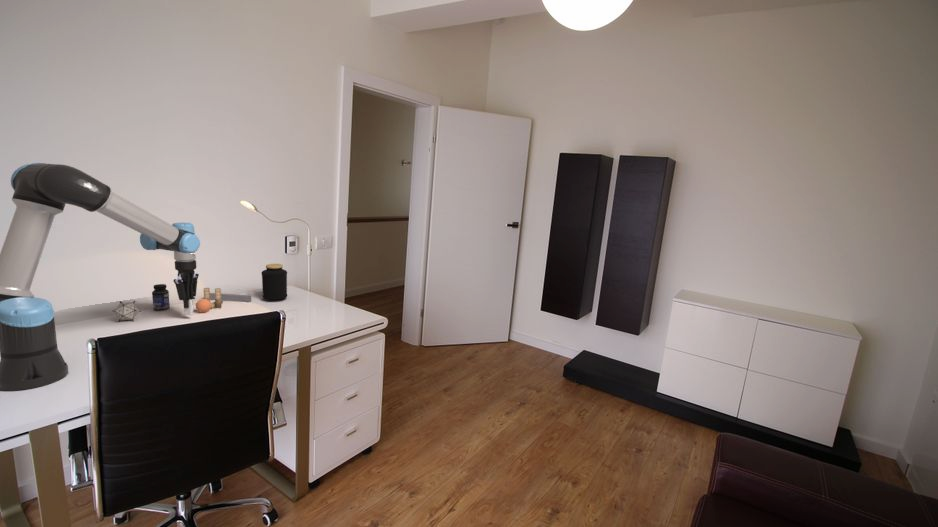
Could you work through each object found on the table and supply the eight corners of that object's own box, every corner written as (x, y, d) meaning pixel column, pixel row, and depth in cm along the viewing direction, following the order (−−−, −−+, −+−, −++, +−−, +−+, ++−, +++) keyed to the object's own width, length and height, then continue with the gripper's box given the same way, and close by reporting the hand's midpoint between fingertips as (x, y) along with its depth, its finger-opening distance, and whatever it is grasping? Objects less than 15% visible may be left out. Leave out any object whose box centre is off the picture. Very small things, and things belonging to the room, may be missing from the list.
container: (259, 297, 222) (258, 263, 219) (283, 295, 229) (284, 262, 226) (264, 304, 213) (264, 268, 209) (290, 301, 220) (290, 266, 216)
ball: (215, 304, 199) (210, 315, 195) (202, 304, 199) (196, 314, 195) (210, 296, 195) (204, 306, 191) (197, 295, 195) (190, 306, 191)
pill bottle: (167, 310, 195) (166, 286, 193) (151, 311, 192) (149, 287, 190) (171, 306, 200) (169, 283, 198) (155, 307, 198) (153, 283, 196)
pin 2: (219, 308, 201) (218, 289, 200) (214, 308, 201) (213, 289, 200) (222, 307, 204) (221, 288, 202) (217, 306, 204) (216, 288, 202)
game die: (129, 330, 179) (121, 316, 172) (112, 321, 180) (103, 306, 173) (148, 315, 185) (141, 301, 178) (132, 306, 186) (124, 291, 179)
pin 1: (208, 308, 201) (207, 289, 200) (203, 307, 201) (202, 288, 200) (211, 306, 204) (210, 287, 202) (206, 306, 204) (205, 287, 202)
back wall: (249, 302, 214) (249, 296, 213) (204, 299, 214) (204, 293, 213) (251, 301, 216) (251, 295, 215) (207, 298, 216) (206, 292, 215)
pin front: (212, 304, 200) (223, 299, 208) (207, 303, 199) (218, 298, 208) (212, 309, 200) (222, 304, 209) (207, 308, 200) (217, 303, 209)
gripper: (184, 263, 174) (187, 319, 179) (203, 257, 187) (206, 310, 192) (165, 262, 174) (169, 318, 179) (186, 256, 187) (189, 309, 192)
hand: (188, 314), depth 185 cm, fingers closed
